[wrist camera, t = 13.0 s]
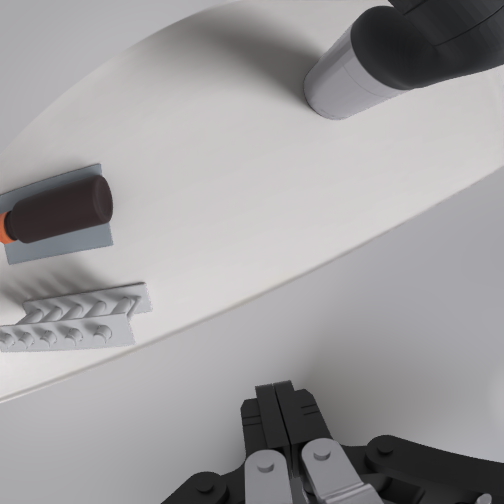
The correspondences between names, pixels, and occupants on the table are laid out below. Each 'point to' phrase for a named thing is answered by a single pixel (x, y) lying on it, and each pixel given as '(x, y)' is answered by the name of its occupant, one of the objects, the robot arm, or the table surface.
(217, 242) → the table surface
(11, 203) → the slate mat
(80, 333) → the test tube rack
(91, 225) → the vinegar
